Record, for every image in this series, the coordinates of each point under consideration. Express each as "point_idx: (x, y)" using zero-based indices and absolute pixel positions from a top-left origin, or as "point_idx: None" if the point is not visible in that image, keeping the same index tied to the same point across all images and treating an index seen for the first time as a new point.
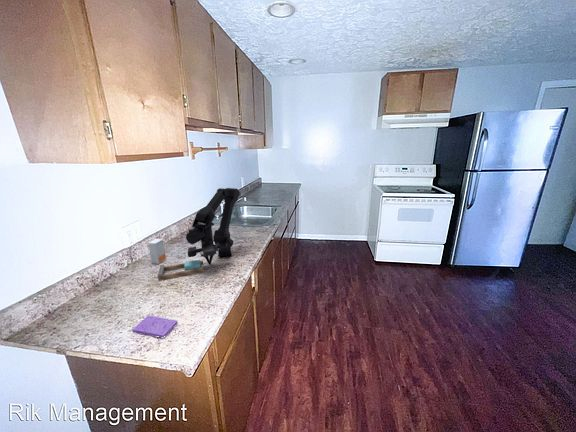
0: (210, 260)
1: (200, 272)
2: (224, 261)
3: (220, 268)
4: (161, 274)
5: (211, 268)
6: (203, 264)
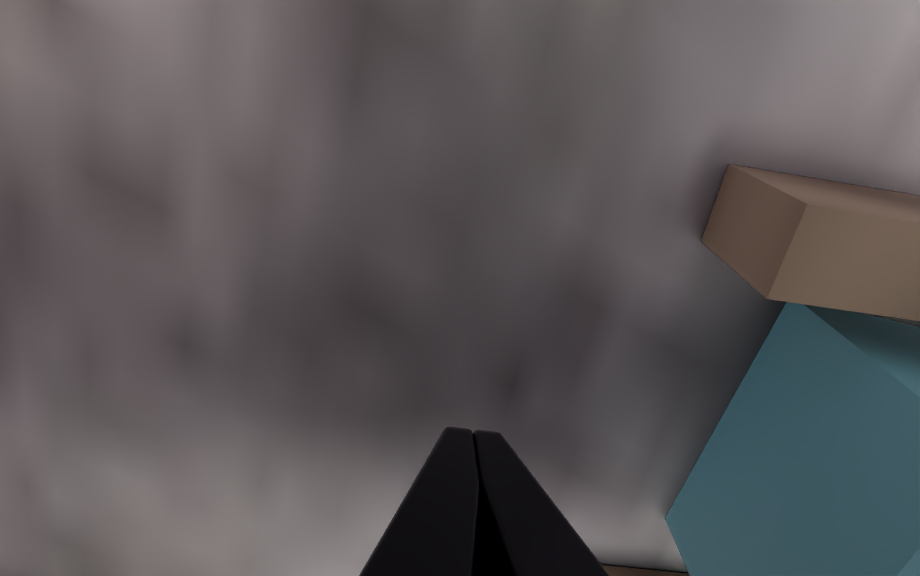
0: (443, 545)
1: (851, 185)
2: (29, 481)
3: (170, 133)
4: None
5: (454, 286)
6: None
